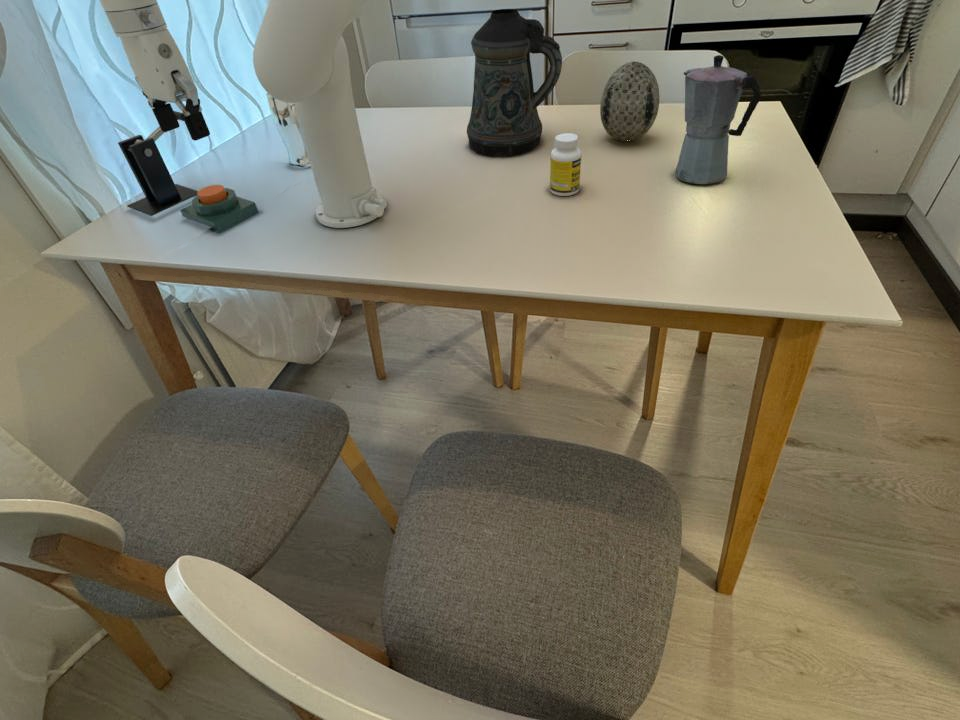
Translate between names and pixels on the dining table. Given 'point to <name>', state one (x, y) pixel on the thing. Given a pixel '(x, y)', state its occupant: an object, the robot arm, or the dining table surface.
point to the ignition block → (221, 212)
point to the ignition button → (212, 194)
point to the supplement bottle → (565, 165)
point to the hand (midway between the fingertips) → (186, 133)
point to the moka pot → (712, 120)
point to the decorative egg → (630, 102)
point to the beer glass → (289, 131)
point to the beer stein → (509, 84)
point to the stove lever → (159, 130)
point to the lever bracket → (152, 177)
